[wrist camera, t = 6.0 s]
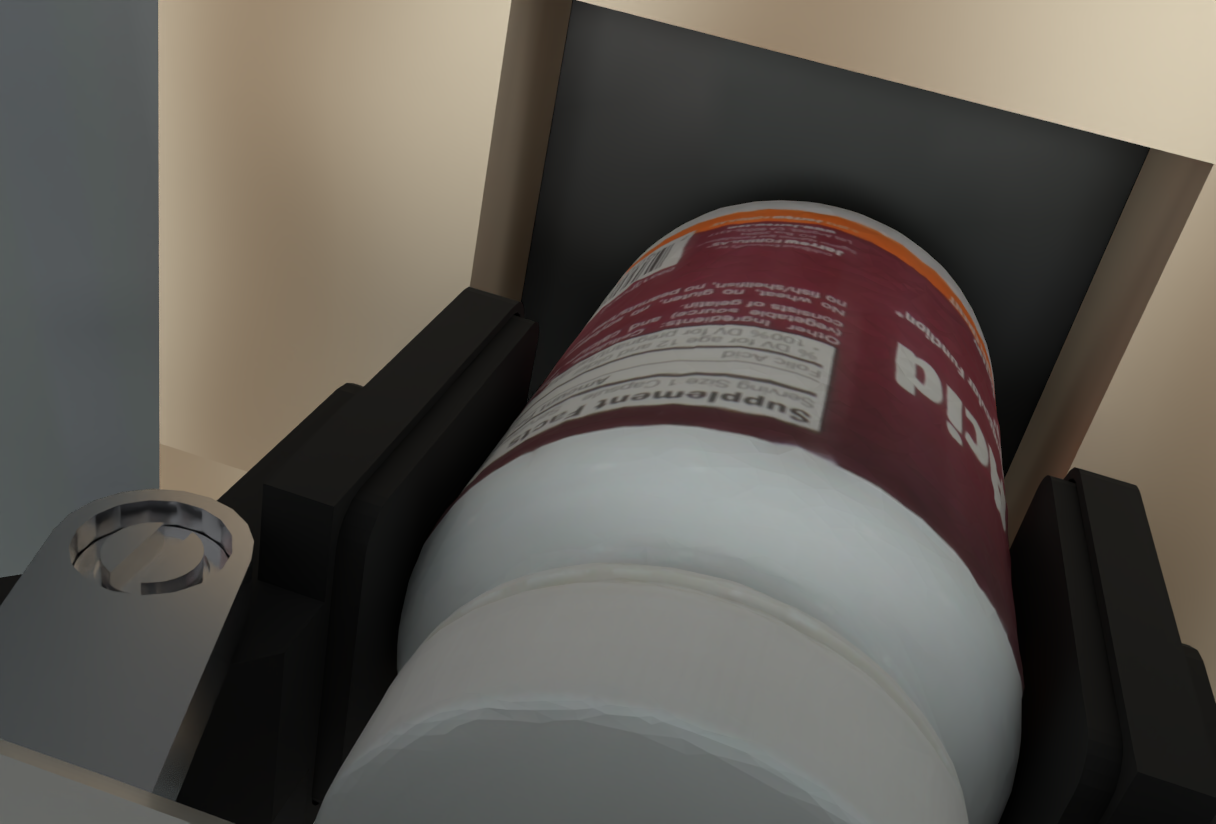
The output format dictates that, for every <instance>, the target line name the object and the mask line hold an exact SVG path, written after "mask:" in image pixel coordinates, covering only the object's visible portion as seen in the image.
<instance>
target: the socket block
mask: <svg viewBox="0 0 1216 824" xmlns="http://www.w3.org/2000/svg"><path fill="white" fill-rule="evenodd" d="M578 1H582V2H586V3H590V4H594V5H597V6H601V7H605V8H609V9H613V10H617V11H621V12H625V13H629V14H632V15H636V16H640V17H644V18H648V19H652V20H656V21H660V22H664V23H668V24H671V25H675V26H679V27H683V28H687V29H691V30H695V31H699V32H703V33H706V34H710V35H714V36H718V37H722V38H726V39H730V40H734V41H738V42H741V43H745V44H749V45H753V46H757V47H761V48H765V49H769V50H773V51H776V52H780V53H784V54H788V55H792V56H796V57H800V58H804V59H808V60H811V61H815V62H819V63H823V64H827V65H831V66H835V67H839V68H843V69H846V70H850V71H854V72H858V73H862V74H866V75H870V76H874V77H878V78H882V79H885V80H889V81H893V82H897V83H901V84H905V85H909V86H913V87H917V88H920V89H924V90H928V91H932V92H936V93H940V94H944V95H948V96H952V97H955V98H959V99H963V100H967V101H971V102H975V103H979V104H983V105H987V106H990V107H994V108H998V109H1002V110H1006V111H1010V112H1014V113H1018V114H1022V115H1025V116H1029V117H1033V118H1037V119H1041V120H1045V121H1049V122H1053V123H1057V124H1060V125H1064V126H1068V127H1072V128H1076V129H1080V130H1084V131H1088V132H1092V133H1096V134H1099V135H1103V136H1107V137H1111V138H1115V139H1119V140H1123V141H1127V142H1131V143H1134V144H1138V145H1142V146H1146V147H1150V150H1149V153H1148V155H1147V157H1146V159H1145V162H1144V164H1143V166H1142V168H1141V171H1140V173H1139V175H1138V177H1137V180H1136V182H1135V184H1134V186H1133V189H1132V191H1131V193H1130V196H1129V198H1128V200H1127V202H1126V205H1125V207H1124V209H1123V211H1122V214H1121V216H1120V218H1119V220H1118V223H1117V225H1116V227H1115V230H1114V232H1113V234H1112V236H1111V239H1110V241H1109V243H1108V245H1107V248H1106V250H1105V252H1104V254H1103V257H1102V259H1101V261H1100V263H1099V266H1098V268H1097V270H1096V273H1095V275H1094V277H1093V279H1092V282H1091V284H1090V286H1089V288H1088V291H1087V293H1086V295H1085V297H1084V300H1083V302H1082V304H1081V307H1080V309H1079V311H1078V313H1077V316H1076V318H1075V320H1074V322H1073V325H1072V327H1071V329H1070V331H1069V334H1068V336H1067V338H1066V341H1065V343H1064V345H1063V347H1062V350H1061V352H1060V354H1059V356H1058V359H1057V361H1056V363H1055V365H1054V368H1053V370H1052V372H1051V374H1050V377H1049V379H1048V381H1047V384H1046V386H1045V388H1044V390H1043V393H1042V395H1041V397H1040V399H1039V402H1038V404H1037V406H1036V408H1035V411H1034V413H1033V415H1032V418H1031V420H1030V422H1029V424H1028V427H1027V429H1026V431H1025V433H1024V436H1023V438H1022V440H1021V442H1020V445H1019V447H1018V449H1017V451H1016V454H1015V456H1014V458H1013V461H1012V463H1011V465H1010V467H1009V470H1008V472H1007V474H1006V476H1005V479H1004V485H1005V498H1006V503H1007V508H1008V538H1009V549H1010V547H1011V545H1012V543H1013V541H1014V538H1015V536H1016V534H1017V532H1018V530H1019V528H1020V525H1021V523H1022V521H1023V519H1024V517H1025V514H1026V512H1027V510H1028V508H1029V506H1030V503H1031V501H1032V499H1033V497H1034V495H1035V493H1036V490H1037V488H1038V487H1039V485H1040V483H1041V481H1042V480H1043V479H1044V477H1046V476H1047V475H1050V476H1053V477H1056V478H1060V479H1064V478H1065V476H1066V475H1067V474H1068V472H1069V471H1070V470H1071V469H1073V468H1074V467H1076V468H1080V469H1084V470H1087V471H1090V472H1094V473H1097V474H1100V475H1104V476H1107V477H1110V478H1114V479H1117V480H1120V481H1124V482H1127V483H1130V484H1134V485H1137V487H1138V488H1139V490H1140V493H1141V497H1142V501H1143V504H1144V508H1145V512H1146V515H1147V519H1148V523H1149V526H1150V530H1151V533H1152V537H1153V541H1154V544H1155V548H1156V552H1157V555H1158V559H1159V563H1160V566H1161V570H1162V573H1163V577H1164V581H1165V584H1166V588H1167V592H1168V595H1169V599H1170V603H1171V606H1172V610H1173V613H1174V617H1175V621H1176V624H1177V628H1178V632H1179V635H1180V639H1181V643H1183V644H1187V645H1190V646H1191V647H1193V648H1195V649H1197V650H1198V651H1199V653H1200V655H1201V657H1202V659H1203V661H1204V665H1205V668H1206V671H1207V675H1208V678H1209V682H1210V685H1211V688H1212V692H1213V695H1214V698H1215V702H1216V0H578ZM571 6H572V0H158V54H159V421H160V489H164V490H179V491H186V492H190V493H194V494H198V495H202V496H206V497H210V498H212V499H214V500H216V501H217V500H218V499H219V498H220V497H221V496H222V495H223V494H224V493H225V492H226V491H228V490H229V489H230V488H231V487H232V486H233V485H234V484H235V483H236V482H237V481H238V480H239V479H240V478H242V477H243V476H244V475H245V474H246V473H247V472H248V471H249V470H250V469H251V468H252V467H253V466H255V465H256V464H257V463H258V462H259V461H260V460H261V459H262V458H263V457H264V456H265V455H266V454H267V453H269V452H270V451H271V450H272V449H273V448H274V447H275V446H276V445H277V444H278V443H279V442H280V441H281V440H283V439H284V438H285V437H286V436H287V435H288V434H289V433H290V432H291V431H292V430H293V429H294V428H295V427H297V426H298V425H299V424H300V423H301V422H302V421H303V420H304V419H305V418H306V417H307V416H308V415H310V414H311V413H312V412H313V411H314V410H315V409H316V408H317V407H318V406H319V405H320V404H321V403H322V402H324V401H325V400H326V399H327V398H328V397H329V396H330V395H331V394H332V393H333V392H334V391H335V390H336V389H338V388H339V387H341V386H342V385H344V384H345V383H355V384H358V385H361V386H365V385H366V384H367V383H368V382H369V381H370V380H371V379H372V378H373V377H374V376H375V375H376V374H377V373H378V372H379V371H380V370H381V369H382V368H383V367H384V366H385V365H386V364H387V363H388V362H390V361H391V360H392V359H393V358H394V357H395V356H396V355H397V354H398V353H399V352H400V351H401V350H402V349H403V348H404V347H405V346H406V345H407V344H408V343H409V342H410V341H411V340H412V339H413V338H414V337H415V336H416V335H418V334H419V333H420V332H421V331H422V330H423V329H424V328H425V327H426V326H427V325H428V324H429V323H430V322H431V321H432V320H433V319H434V318H435V317H436V316H437V315H438V314H439V313H440V312H441V311H442V310H443V309H444V308H445V307H447V306H448V305H449V304H450V303H451V302H452V301H453V300H454V299H455V298H456V297H457V296H458V295H459V294H460V293H461V292H462V291H463V290H464V289H466V288H467V287H472V288H475V289H478V290H482V291H485V292H489V293H492V294H495V295H499V296H502V297H505V298H509V299H512V300H515V301H519V302H521V298H522V292H523V286H524V280H525V274H526V268H527V262H528V257H529V251H530V245H531V239H532V233H533V227H534V222H535V216H536V210H537V204H538V198H539V192H540V187H541V181H542V175H543V169H544V163H545V157H546V152H547V146H548V140H549V134H550V128H551V122H552V117H553V111H554V105H555V99H556V93H557V87H558V81H559V76H560V70H561V64H562V58H563V52H564V46H565V41H566V35H567V29H568V23H569V17H570V11H571Z"/></svg>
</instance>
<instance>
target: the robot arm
mask: <svg viewBox="0 0 1216 824" xmlns="http://www.w3.org/2000/svg"><path fill="white" fill-rule="evenodd" d="M538 336H539V324H538V322H535V321H532V320H529V319H525V318H524V306H523V303H521V302H519V301H515V300H512V299H509V298H505V297H502V296H499V295H495V294H492V293H489V292H485V291H482V290H478V289H475V288H472V287H467V288H466V289H464V290H463V291H462V292H461V293H460V294H459V295H458V296H457V297H456V298H455V299H454V300H453V301H452V302H451V303H450V304H449V305H448V306H447V307H445V308H444V309H443V310H442V311H441V312H440V313H439V314H438V315H437V316H436V317H435V318H434V319H433V320H432V321H431V322H430V323H429V324H428V325H427V326H426V327H425V328H424V329H423V330H422V331H421V332H420V333H419V334H418V335H416V336H415V337H414V338H413V339H412V340H411V341H410V342H409V343H408V344H407V345H406V346H405V347H404V348H403V349H402V350H401V351H400V352H399V353H398V354H397V355H396V356H395V357H394V358H393V359H392V360H391V361H390V362H388V363H387V364H386V365H385V366H384V367H383V368H382V369H381V370H380V371H379V372H378V373H377V374H376V375H375V376H374V377H373V378H372V379H371V380H370V381H369V382H368V383H367V384H366V385H365V386H361V385H358V384H355V383H345V384H344V385H342V386H341V387H339V388H338V389H336V390H335V391H334V392H333V393H332V394H331V395H330V396H329V397H328V398H327V399H326V400H325V401H324V402H322V403H321V404H320V405H319V406H318V407H317V408H316V409H315V410H314V411H313V412H312V413H311V414H310V415H308V416H307V417H306V418H305V419H304V420H303V421H302V422H301V423H300V424H299V425H298V426H297V427H295V428H294V429H293V430H292V431H291V432H290V433H289V434H288V435H287V436H286V437H285V438H284V439H283V440H281V441H280V442H279V443H278V444H277V445H276V446H275V447H274V448H273V449H272V450H271V451H270V452H269V453H267V454H266V455H265V456H264V457H263V458H262V459H261V460H260V461H259V462H258V463H257V464H256V465H255V466H253V467H252V468H251V469H250V470H249V471H248V472H247V473H246V474H245V475H244V476H243V477H242V478H240V479H239V480H238V481H237V482H236V483H235V484H234V485H233V486H232V487H231V488H230V489H229V490H228V491H226V492H225V493H224V494H223V495H222V496H221V497H220V498H219V499H218V500H217V501H216V500H214V499H212V498H210V497H206V496H202V495H198V494H194V493H190V492H186V491H179V490H164V489H146V490H137V491H128V492H121V493H117V494H114V495H111V496H107V497H104V498H100V499H97V500H94V501H92V502H90V503H88V504H86V505H84V506H83V507H81V508H79V509H77V510H75V511H73V512H71V513H70V514H69V515H68V516H67V517H66V518H65V519H64V520H63V521H62V522H61V523H60V524H59V525H58V526H57V527H56V528H55V529H54V530H53V531H52V532H51V534H50V535H49V537H48V538H47V539H46V541H45V542H44V544H43V545H42V547H41V548H40V549H39V551H38V552H37V554H36V555H35V557H34V558H33V560H32V561H31V562H30V564H29V565H28V567H27V568H26V570H25V571H24V573H23V574H21V575H15V576H8V577H2V578H0V824H313V823H314V821H315V819H316V817H317V814H318V812H319V809H320V807H321V804H322V802H323V800H324V797H325V795H326V793H327V791H328V789H329V788H330V786H331V784H332V782H333V780H334V779H335V777H336V775H337V773H338V771H339V769H340V768H341V766H342V765H343V763H344V761H345V760H346V758H347V756H348V755H349V753H350V751H351V750H352V748H353V746H354V745H355V743H356V741H357V740H358V738H359V737H360V735H361V733H362V732H363V730H364V728H365V727H366V725H367V723H368V722H369V720H370V718H371V717H372V715H373V714H374V712H375V710H376V709H377V707H378V705H379V704H380V702H381V700H382V699H383V697H384V695H385V693H386V692H387V690H388V688H389V686H390V685H391V684H392V682H393V681H394V679H395V678H396V676H397V675H398V672H397V643H398V630H399V624H400V619H401V613H402V608H403V604H404V600H405V595H406V591H407V586H408V582H409V579H410V576H411V573H412V570H413V568H414V565H415V563H416V561H417V558H418V556H419V554H420V552H421V549H422V547H423V544H424V542H425V541H426V539H427V538H428V536H429V534H430V533H431V531H432V529H433V528H434V526H435V525H436V523H437V521H438V520H439V519H440V517H441V516H442V514H443V513H444V512H445V510H446V509H447V508H448V507H449V506H450V505H451V504H452V502H453V501H454V500H455V499H456V498H457V497H458V496H459V495H460V493H461V492H462V491H463V489H464V488H465V487H466V485H467V484H468V483H469V481H470V480H471V479H472V477H473V476H474V475H475V473H476V472H477V471H478V470H479V468H480V467H481V466H482V464H483V463H484V462H485V460H486V459H487V458H488V456H489V455H490V454H491V452H492V451H493V450H494V448H495V447H496V446H497V444H498V443H499V442H500V440H501V439H502V438H503V436H504V435H505V434H506V432H507V431H508V430H509V428H510V426H511V425H512V423H513V422H514V421H515V420H516V418H517V417H518V416H519V414H520V413H521V412H522V410H523V409H524V407H525V406H526V402H527V396H528V391H529V386H530V380H531V375H532V369H533V364H534V359H535V353H536V348H537V342H538ZM1009 552H1010V557H1011V583H1012V591H1013V599H1014V606H1015V614H1016V623H1017V636H1018V644H1019V651H1020V656H1021V661H1022V668H1023V677H1024V686H1025V688H1024V692H1023V696H1022V717H1021V743H1020V752H1019V759H1018V764H1017V769H1016V773H1015V778H1014V783H1013V787H1012V792H1011V794H1010V797H1009V799H1008V802H1007V804H1006V806H1005V809H1004V811H1003V814H1002V816H1001V819H1000V821H999V823H998V824H1216V702H1215V698H1214V695H1213V692H1212V688H1211V685H1210V682H1209V678H1208V675H1207V671H1206V668H1205V665H1204V661H1203V659H1202V657H1201V655H1200V653H1199V651H1198V650H1197V649H1195V648H1193V647H1191V646H1190V645H1187V644H1183V643H1181V639H1180V635H1179V632H1178V628H1177V624H1176V621H1175V617H1174V613H1173V610H1172V606H1171V603H1170V599H1169V595H1168V592H1167V588H1166V584H1165V581H1164V577H1163V573H1162V570H1161V566H1160V563H1159V559H1158V555H1157V552H1156V548H1155V544H1154V541H1153V537H1152V533H1151V530H1150V526H1149V523H1148V519H1147V515H1146V512H1145V508H1144V504H1143V501H1142V497H1141V493H1140V490H1139V488H1138V487H1137V485H1134V484H1130V483H1127V482H1124V481H1120V480H1117V479H1114V478H1110V477H1107V476H1104V475H1100V474H1097V473H1094V472H1090V471H1087V470H1084V469H1080V468H1076V467H1074V468H1073V469H1071V470H1070V471H1069V472H1068V474H1067V475H1066V476H1065V478H1064V479H1060V478H1056V477H1053V476H1050V475H1047V476H1046V477H1044V479H1043V480H1042V481H1041V483H1040V485H1039V487H1038V488H1037V490H1036V493H1035V495H1034V497H1033V499H1032V501H1031V503H1030V506H1029V508H1028V510H1027V512H1026V514H1025V517H1024V519H1023V521H1022V523H1021V525H1020V528H1019V530H1018V532H1017V534H1016V536H1015V538H1014V541H1013V543H1012V545H1011V547H1010V549H1009Z"/></svg>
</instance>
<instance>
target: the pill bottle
mask: <svg viewBox="0 0 1216 824" xmlns="http://www.w3.org/2000/svg"><path fill="white" fill-rule="evenodd" d="M397 672H398V675H397V676H396V678H395V679H394V681H393V682H392V684H391V685H390V686H389V688H388V690H387V692H386V693H385V695H384V697H383V699H382V700H381V702H380V704H379V705H378V707H377V709H376V710H375V712H374V714H373V715H372V717H371V718H370V720H369V722H368V723H367V725H366V727H365V728H364V730H363V732H362V733H361V735H360V737H359V738H358V740H357V741H356V743H355V745H354V746H353V748H352V750H351V751H350V753H349V755H348V756H347V758H346V760H345V761H344V763H343V765H342V766H341V768H340V769H339V771H338V773H337V775H336V777H335V779H334V780H333V782H332V784H331V786H330V788H329V789H328V791H327V793H326V795H325V797H324V800H323V802H322V804H321V807H320V809H319V812H318V814H317V817H316V820H315V824H998V823H999V821H1000V819H1001V816H1002V814H1003V811H1004V809H1005V806H1006V804H1007V802H1008V799H1009V797H1010V794H1011V792H1012V787H1013V783H1014V778H1015V773H1016V769H1017V764H1018V759H1019V752H1020V743H1021V717H1022V696H1023V692H1024V688H1025V686H1024V677H1023V668H1022V661H1021V656H1020V651H1019V644H1018V636H1017V623H1016V614H1015V606H1014V599H1013V591H1012V583H1011V557H1010V552H1009V538H1008V508H1007V503H1006V498H1005V485H1004V474H1003V467H1002V455H1001V439H1000V426H999V422H998V419H997V411H996V401H995V389H994V377H993V371H992V366H991V360H990V356H989V351H988V346H987V344H986V341H985V339H984V336H983V333H982V331H981V328H980V325H979V323H978V321H977V318H976V316H975V314H974V312H973V309H972V308H971V306H970V304H969V303H968V301H967V299H966V298H965V296H964V294H963V293H962V291H961V289H960V288H959V286H958V285H957V284H956V282H955V281H954V280H953V279H952V277H951V276H950V275H949V274H948V272H947V271H946V270H945V269H944V268H943V267H942V266H941V265H940V264H939V263H938V262H937V261H936V260H935V259H934V258H933V257H931V256H930V255H929V254H928V253H927V252H926V251H925V250H923V249H922V248H921V247H919V246H918V245H917V244H915V243H914V242H913V241H911V240H910V239H909V238H907V237H906V236H904V235H903V234H901V233H900V232H898V231H896V230H894V229H892V228H891V227H889V226H887V225H885V224H882V223H880V222H878V221H876V220H874V219H871V218H869V217H867V216H865V215H862V214H859V213H856V212H853V211H851V210H847V209H843V208H839V207H835V206H830V205H825V204H821V203H814V202H805V201H786V200H776V201H755V202H750V203H744V204H739V205H733V206H728V207H723V208H719V209H717V210H714V211H711V212H708V213H706V214H704V215H702V216H699V217H697V218H695V219H693V220H691V221H689V222H687V223H685V224H683V225H681V226H679V227H678V228H676V229H674V230H673V231H671V232H670V233H668V234H667V235H665V236H664V237H663V238H661V239H660V240H658V241H657V242H656V243H654V244H653V245H652V246H651V247H649V248H648V249H647V250H646V251H645V252H644V253H643V254H642V255H641V256H640V257H639V258H638V259H637V260H636V261H635V262H634V263H633V264H632V266H631V267H630V268H629V269H628V270H627V271H626V272H625V274H624V275H623V276H622V277H621V279H620V280H619V281H618V283H617V284H616V286H615V287H614V288H613V290H612V291H611V292H610V293H609V295H608V296H607V297H606V298H605V300H604V301H603V303H602V304H601V305H600V307H599V308H598V309H597V311H596V312H595V314H594V315H593V316H592V318H591V319H590V320H589V322H588V323H587V325H586V326H585V327H584V329H583V330H582V331H581V333H580V334H579V335H578V337H577V338H576V339H575V340H574V342H573V343H572V344H571V345H570V346H569V348H568V349H567V350H566V352H565V353H564V355H563V356H562V358H561V359H560V360H559V361H558V362H557V364H556V365H555V367H554V368H553V369H552V371H551V372H550V373H549V375H548V376H547V378H546V379H545V381H544V382H543V384H542V385H541V386H540V387H539V389H538V390H537V392H536V393H535V394H534V395H533V396H532V398H531V399H530V400H529V402H528V403H527V404H526V406H525V407H524V409H523V410H522V412H521V413H520V414H519V416H518V417H517V418H516V420H515V421H514V422H513V423H512V425H511V426H510V428H509V430H508V431H507V432H506V434H505V435H504V436H503V438H502V439H501V440H500V442H499V443H498V444H497V446H496V447H495V448H494V450H493V451H492V452H491V454H490V455H489V456H488V458H487V459H486V460H485V462H484V463H483V464H482V466H481V467H480V468H479V470H478V471H477V472H476V473H475V475H474V476H473V477H472V479H471V480H470V481H469V483H468V484H467V485H466V487H465V488H464V489H463V491H462V492H461V493H460V495H459V496H458V497H457V498H456V499H455V500H454V501H453V502H452V504H451V505H450V506H449V507H448V508H447V509H446V510H445V512H444V513H443V514H442V516H441V517H440V519H439V520H438V521H437V523H436V525H435V526H434V528H433V529H432V531H431V533H430V534H429V536H428V538H427V539H426V541H425V542H424V544H423V547H422V549H421V552H420V554H419V556H418V558H417V561H416V563H415V565H414V568H413V570H412V573H411V576H410V579H409V582H408V586H407V591H406V595H405V600H404V604H403V608H402V613H401V619H400V624H399V630H398V643H397Z"/></svg>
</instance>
